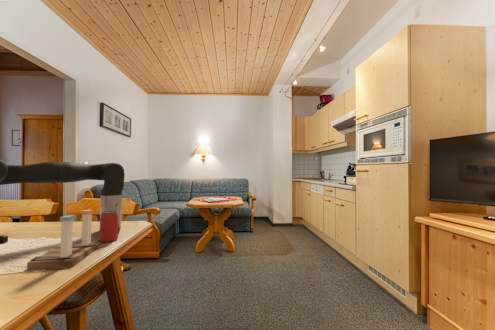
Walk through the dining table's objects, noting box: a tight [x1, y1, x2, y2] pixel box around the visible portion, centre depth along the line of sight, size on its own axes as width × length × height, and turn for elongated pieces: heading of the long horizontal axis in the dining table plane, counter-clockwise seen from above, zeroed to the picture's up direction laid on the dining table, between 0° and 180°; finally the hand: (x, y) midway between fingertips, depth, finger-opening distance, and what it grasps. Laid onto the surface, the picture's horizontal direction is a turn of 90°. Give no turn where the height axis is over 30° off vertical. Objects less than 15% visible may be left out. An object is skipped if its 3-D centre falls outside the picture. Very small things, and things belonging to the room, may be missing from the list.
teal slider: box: [59, 214, 76, 258], centre depth 74 cm, size 4×2×12 cm, turn 11°
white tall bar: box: [80, 209, 94, 246], centre depth 86 cm, size 4×2×12 cm, turn 11°
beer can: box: [99, 211, 119, 243], centre depth 101 cm, size 7×7×12 cm
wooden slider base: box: [26, 242, 99, 271], centre depth 80 cm, size 18×12×2 cm, turn 11°
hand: (6, 239), depth 71 cm, fingers closed
